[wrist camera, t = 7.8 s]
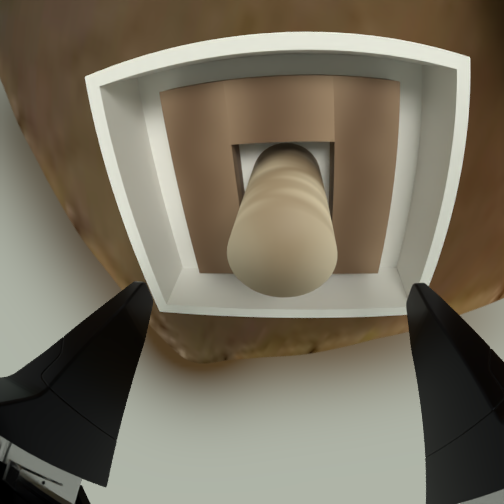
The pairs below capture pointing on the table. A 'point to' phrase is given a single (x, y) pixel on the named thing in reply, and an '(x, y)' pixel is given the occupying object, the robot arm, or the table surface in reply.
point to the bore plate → (286, 130)
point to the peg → (283, 226)
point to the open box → (285, 63)
